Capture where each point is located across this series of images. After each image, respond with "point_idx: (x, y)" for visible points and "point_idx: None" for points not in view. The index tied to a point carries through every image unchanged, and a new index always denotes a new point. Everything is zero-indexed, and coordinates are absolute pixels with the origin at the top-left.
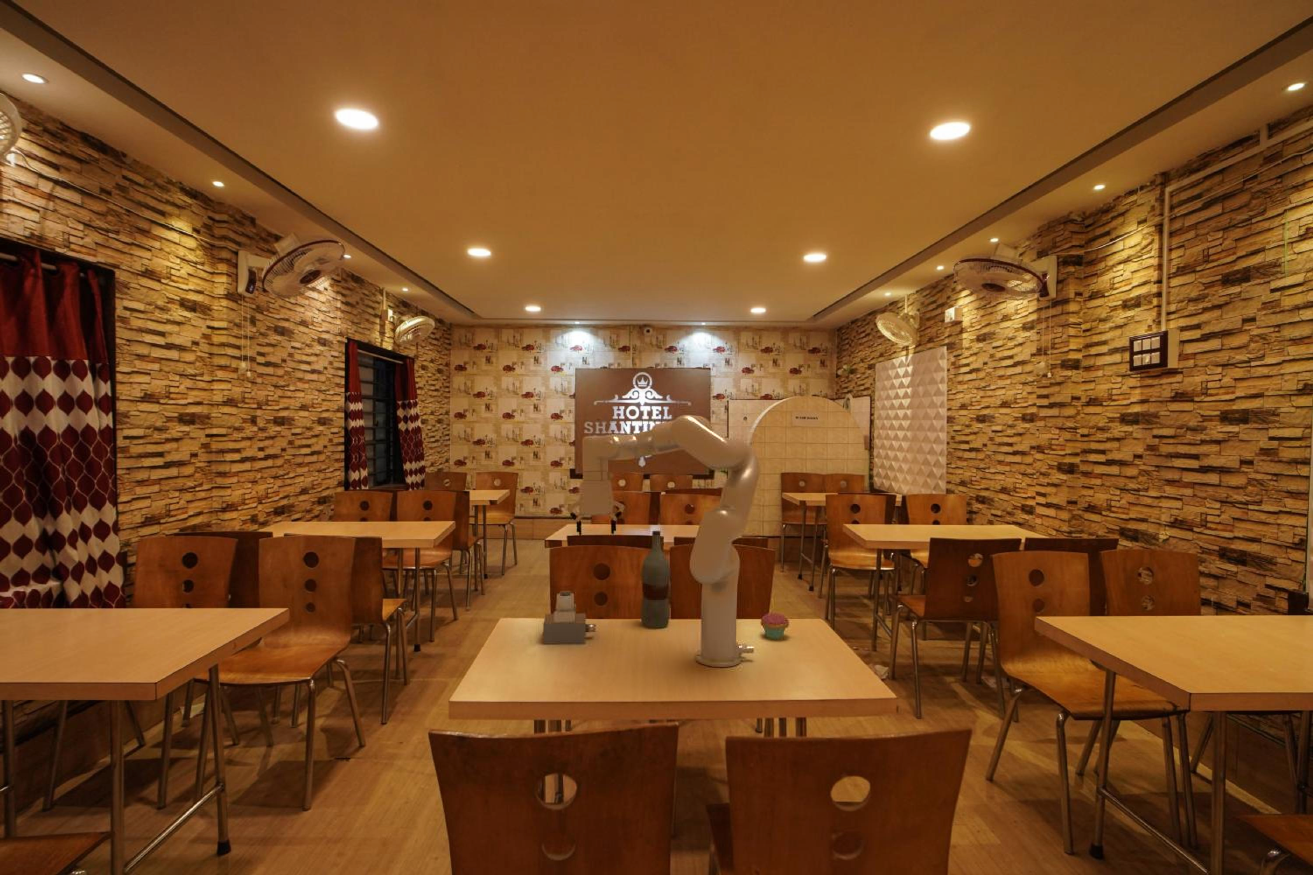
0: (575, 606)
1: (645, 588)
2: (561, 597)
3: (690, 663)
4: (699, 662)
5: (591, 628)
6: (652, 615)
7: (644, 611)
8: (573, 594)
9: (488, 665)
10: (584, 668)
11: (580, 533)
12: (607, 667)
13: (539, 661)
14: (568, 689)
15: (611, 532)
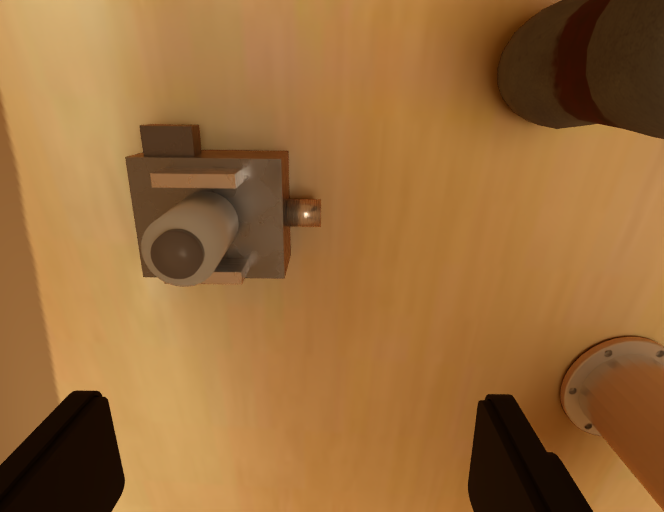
0: (235, 187)
1: (577, 98)
2: (169, 282)
3: (540, 402)
4: (562, 406)
5: (306, 226)
6: (543, 125)
7: (521, 101)
8: (215, 247)
9: (69, 385)
10: (294, 414)
11: (107, 506)
12: (346, 412)
13: (184, 370)
14: (267, 500)
15: (472, 494)
